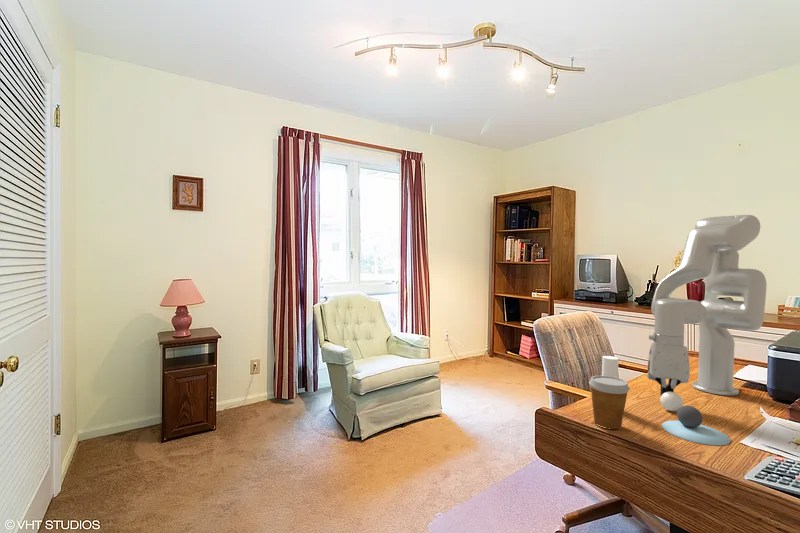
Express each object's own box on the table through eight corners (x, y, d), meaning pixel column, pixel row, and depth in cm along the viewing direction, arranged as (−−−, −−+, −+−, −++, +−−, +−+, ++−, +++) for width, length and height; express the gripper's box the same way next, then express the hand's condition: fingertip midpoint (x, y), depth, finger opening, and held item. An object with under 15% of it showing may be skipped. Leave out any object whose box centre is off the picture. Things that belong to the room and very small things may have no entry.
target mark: (676, 417, 110) (676, 416, 110) (739, 437, 98) (739, 436, 98) (651, 428, 102) (651, 427, 102) (716, 450, 91) (716, 449, 91)
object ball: (689, 399, 103) (695, 418, 99) (703, 408, 104) (710, 427, 100) (669, 405, 107) (675, 424, 103) (683, 415, 108) (689, 433, 104)
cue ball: (672, 391, 113) (674, 411, 111) (686, 392, 114) (688, 412, 113) (654, 390, 118) (656, 409, 116) (668, 391, 119) (670, 411, 118)
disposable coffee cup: (621, 420, 107) (622, 376, 107) (633, 435, 98) (635, 387, 98) (583, 416, 109) (585, 373, 109) (592, 430, 100) (594, 384, 100)
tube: (619, 410, 114) (620, 359, 114) (603, 409, 115) (604, 358, 115) (614, 405, 118) (615, 356, 118) (598, 404, 119) (600, 355, 119)
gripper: (644, 340, 119) (642, 400, 119) (702, 345, 114) (700, 407, 114) (637, 336, 126) (635, 392, 126) (692, 340, 121) (690, 398, 122)
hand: (666, 399), depth 120 cm, fingers closed
